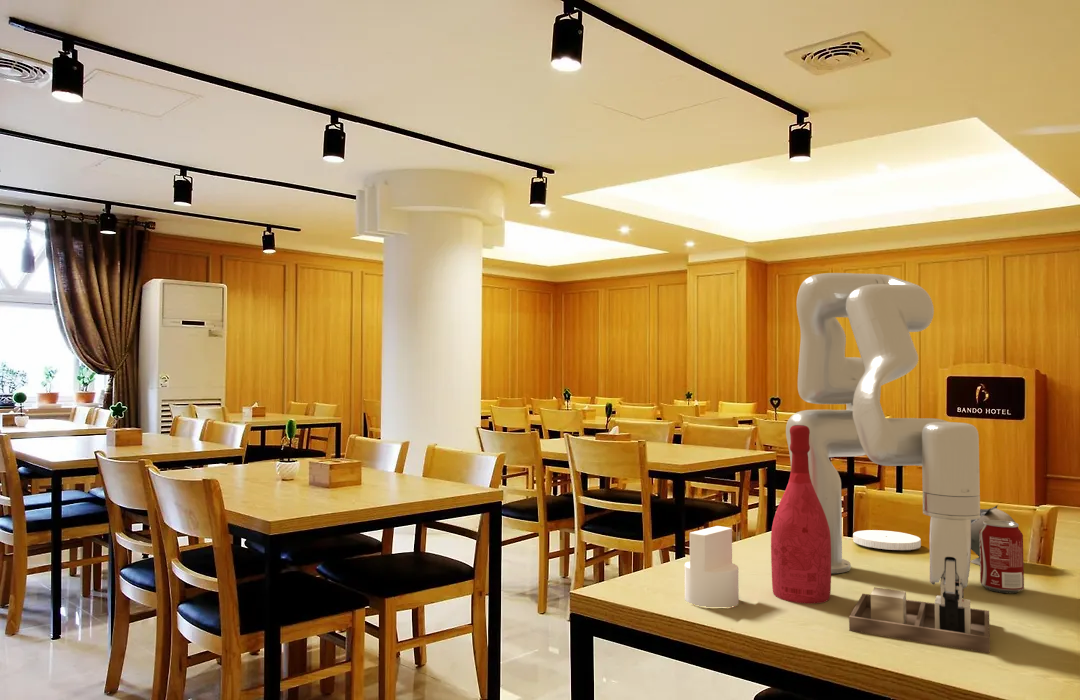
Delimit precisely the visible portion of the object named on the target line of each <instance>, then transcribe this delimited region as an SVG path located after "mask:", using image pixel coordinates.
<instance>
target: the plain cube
mask: <svg viewBox="0 0 1080 700" xmlns="http://www.w3.org/2000/svg"><path fill="white" fill-rule="evenodd" d="M870 595H871V619H875V620H881V621H888V622H895V623H901V624H905V623H906V600H907V592H906V591H904V590H898V589H890V588H881V587H874V588H873V589H872V591H871V593H870Z"/></svg>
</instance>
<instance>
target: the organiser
mask: <svg viewBox="0 0 1080 700" xmlns="http://www.w3.org/2000/svg"><path fill="white" fill-rule="evenodd" d="M970 614H971V634H968V633H961V632H954V631H948V630H941V629H935V602H929V601H927V602H926V601H920V600H912V599H906V623H905V624H901V623H895V622H888V621H881V620H875V619H871V594H867V593H862V594H861V596H860V598H859V600H858V601H857V603H855V606H854V608H853V609H852V611H851V613H850V615H849V616H848V622H849V626H848V627H849V630H848V631H850V632H856V633H862V634H867V635H873V636H880V637H886V638H892V639H898V640H905V641H911V642H918V643H923V644H930V645H937V646H942V647H947V648H948V647H949V648H956V649H959V650H960V649H961V650H968V651H973V652H980V653H985V654H990V653H991V651H990V650H991V647H990V646H991V645H990V644H991V643H990V642H991V641H990V638H991V637H990V610H985V609H979V608H971V607H970Z"/></svg>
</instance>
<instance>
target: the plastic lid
mask: <svg viewBox="0 0 1080 700" xmlns="http://www.w3.org/2000/svg"><path fill="white" fill-rule="evenodd" d="M852 541H853V542H854V543H855V544H857V545H860V546H862V547H868V548H874V549H880V550H881V549H882V550H892V551H911V550H912V551H913V550H918V549H920V548H921V546H922V541H921V538H920V537H919V536H917V535H913V534H910V533H907V532H901V531H893V530H880V529H879V530H878V529H872V530H871V529H866V530H857V531H855V532H853V534H852Z"/></svg>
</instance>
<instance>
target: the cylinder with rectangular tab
mask: <svg viewBox="0 0 1080 700" xmlns="http://www.w3.org/2000/svg"><path fill="white" fill-rule="evenodd" d="M739 588H740V587H739V566H738V565H737V564H735V563H733V528H732V527H727V526H721V525H715V526H712V527H707V528H703V529H699V530H695V531H690V532H689V561H686V562H685V563H684V601H685V600H686V601H687V602H689V603H692V604H695V605H699V606H706V607H732V606H735V605H737V604H738V605H739V603H740V601H739V600H740V599H739V595H740V594H739ZM686 601H685V602H686ZM687 602H686V603H687ZM738 605H737V606H738ZM735 607H736V606H735ZM732 608H733V607H732Z"/></svg>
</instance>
